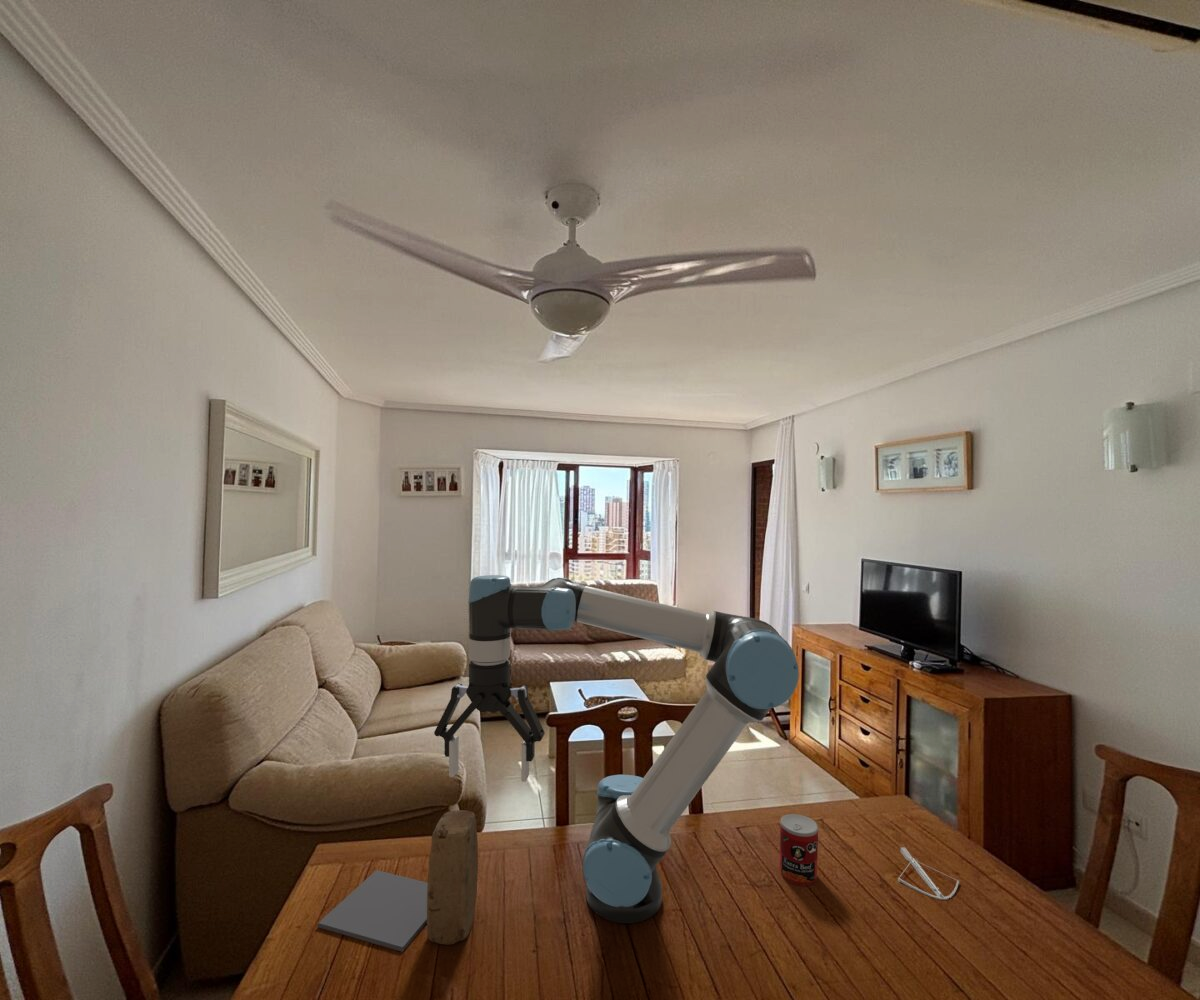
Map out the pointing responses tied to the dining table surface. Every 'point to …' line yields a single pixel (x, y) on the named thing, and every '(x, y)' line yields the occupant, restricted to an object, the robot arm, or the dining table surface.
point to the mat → (381, 911)
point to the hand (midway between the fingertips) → (489, 776)
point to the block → (452, 877)
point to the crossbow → (924, 878)
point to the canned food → (798, 849)
